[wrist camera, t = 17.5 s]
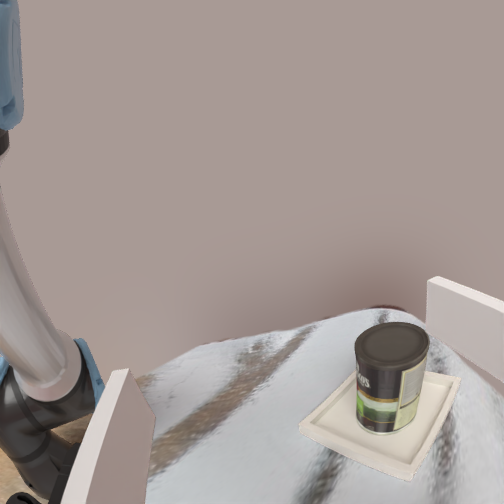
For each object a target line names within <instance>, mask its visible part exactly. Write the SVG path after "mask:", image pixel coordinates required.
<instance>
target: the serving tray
mask: <svg viewBox="0 0 504 504" xmlns="http://www.w3.org/2000/svg"><path fill="white" fill-rule="evenodd" d="M356 380H357V379H356V370H355V371H354V372H353V373H352V374H351V375H350V376H349V377H348V378H347V379H346V380H345V381H344V382H343V383H342V384H341V385H340V386H339V387H338V388H337V389H336V390H335V391H334V392H333V393H332V394H331V395H330V396H329V397H328V398H327V399H326V400H325V401H324V402H323V403H321V404H320V405H319V406H318V407H317V408H316V409H315V410H314V411H313V412H312V413H311V414H309V415H308V416H307V417H306V418H305V419H304V420H303V421H301V422H300V423H299V430H300V433H301V434H303V435H304V436H306V437H308V438H310V439H312V440H314V441H316V442H318V443H319V444H321V445H323V446H325V447H327V448H329V449H331V450H333V451H335V452H337V453H339V454H342V455H344V456H346V457H348V458H350V459H352V460H355V461H357V462H359V463H361V464H364V465H366V466H368V467H371V468H373V469H376V470H378V471H381V472H383V473H386V474H388V475H391V476H394V477H396V478H399V479H402V480H405V481H408V482H410V481H411V480H412V478H413V477H414V475H415V474H416V472H417V471H418V469H419V467H420V466H421V464H422V462H423V461H424V459H425V457H426V456H427V454H428V452H429V450H430V449H431V447H432V445H433V443H434V441H435V439H436V438H437V436H438V434H439V432H440V430H441V428H442V426H443V424H444V421H445V419H446V417H447V415H448V413H449V411H450V408H451V406H452V404H453V401H454V399H455V396H456V394H457V391H458V389H459V386H460V382H461V378H459V377H454V376H448V375H443V374H438V373H433V372H429V371H425V372H424V378H423V383H422V389H421V394H420V398H419V403H418V407H417V414H416V417H415V419H414V421H413V422H412V423H411V424H410V425H409V426H408V427H407V428H405V429H404V430H402V431H400V432H398V433H395V434H391V435H375V434H371V433H369V432H367V431H365V430H364V429H362V428H361V427H360V426H359V424H358V422H357V420H356V404H357V384H356V382H357V381H356Z"/></svg>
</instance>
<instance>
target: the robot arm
mask: <svg viewBox="0 0 504 504" xmlns="http://www.w3.org/2000/svg"><path fill="white" fill-rule="evenodd" d="M22 87H23V78H22V60H21V38H20V18H19V8H18V2H17V0H0V166H1V164H2V162H3V160H4V159H5V157H6V155H7V153H8V151H9V149H10V144H9V135H8V130H10V129H13V128H14V126H16V125H17V124H18V123H20V122H21V120H22V117H23V110H24V100H23V90H22ZM425 332H427V333H428V334H430V335H431V336H433V337H434V338H436V339H438V340H439V341H441V342H442V343H444V344H445V345H447V346H448V347H450V348H452V349H453V350H455V351H456V352H458V353H460V354H461V355H462V356H464V357H466V358H467V359H468V360H470V361H472V362H473V363H475V364H476V365H478V366H479V367H481V368H482V369H484V370H485V371H487V372H488V373H490V374H491V375H493V376H494V377H496V378H497V379H499V380H500V381H502V382H503V383H504V302H503V301H501V300H499V299H496V298H494V297H491V296H489V295H486V294H484V293H481V292H479V291H476V290H474V289H471V288H468V287H466V286H463V285H461V284H458V283H456V282H452V281H450V280H447V279H445V278H442V277H439V276H436V277H434V278H432V279H430V280H428V281H427V310H426V326H425ZM0 354H1V355H2V356H3V357H0V448H1V449H2V450H3V451H4V452H5V453H6V454H7V456H8V457H9V458H10V459H11V460H12V461H13V463H14V465H15V467H16V468H17V470H18V472H19V474H20V475H21V477H22V479H23V480H24V482H25V483H26V485H27V486H28V487H29V488H30V489H31V490H32V491H33V492H34V493H36V494H37V495H38V496H40V497H42V498H44V499H48V500H49V502H48V504H145V497H146V487H147V478H148V470H149V462H150V454H151V447H152V440H153V433H154V427H155V420H156V417H155V415H154V413H153V412H152V410H151V408H150V407H149V405H148V403H147V401H146V399H145V398H144V396H143V394H142V392H141V390H140V388H139V387H138V385H137V383H136V381H135V379H134V377H133V375H132V373H131V371H130V369H122V370H114V371H112V374H111V376H110V378H109V380H108V382H107V384H106V386H105V385H104V383H103V381H102V379H101V376H100V374H99V371H98V368H97V366H96V364H95V361H94V359H93V356H92V354H91V352H90V350H89V347H88V345H87V343H86V342H85V340H83V339H82V338H79V339H72V338H71V337H70V336H69V335H68V334H66V333H65V332H63V331H61V330H58V329H56V328H55V327H54V325H53V323H52V321H51V319H50V317H49V316H48V314H47V312H46V310H45V308H44V306H43V304H42V302H41V300H40V298H39V296H38V294H37V292H36V289H35V287H34V285H33V283H32V281H31V278H30V276H29V274H28V271H27V269H26V266H25V264H24V262H23V259H22V256H21V254H20V251H19V248H18V245H17V243H16V240H15V237H14V234H13V231H12V228H11V224H10V221H9V218H8V214H7V210H6V207H5V203H4V199H3V195H2V191H1V186H0ZM9 364H10V365H11V366H10V365H9ZM91 413H92V414H93V416H92V418H91V421H90V423H89V426H88V428H87V431H86V433H85V436H84V438H83V441H82V443H75V444H74V445H73V446H72V445H71V444H70V443H68V442H67V441H65V440H64V439H62V438H61V437H60V436H58V435H57V434H55V433H54V432H53V431H51V430H50V429H53V428H56V427H58V426H61V425H64V424H66V423H69V422H71V421H74V420H76V419H79V418H81V417H84V416H86V415H89V414H91ZM6 504H41V503H40V502H38V501H37V500H36V499H35V498H34V497H32V496H31V495H30V494H28V493H24V492H19V493H15V494H14V495H12V496H11V497H10V498H9V499H8V501H7V502H6Z"/></svg>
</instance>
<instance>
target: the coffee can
mask: <svg viewBox="0 0 504 504" xmlns="http://www.w3.org/2000/svg"><path fill="white" fill-rule="evenodd" d="M429 344H430V340H429V336H428V334H427V333H426V332H425V331H424V330H423V329H422V328H420V327H419V326H416V325H414V324H410V323H405V322H388V323H383V324H379V325H376V326H373V327H371V328H369V329H367V330H365V331H364V332H363V333H362V334H360V336H359V337H358V338H357V340H356V342H355V354H356V379H357V380H356V381H357V382H356V384H357V404H356V420H357V422H358V424H359V426H360V427H361V428H362V429H364V430H365V431H367V432H369V433H371V434H375V435H391V434H395V433H398V432H400V431H402V430H404V429H405V428H407V427H408V426H409V425H410V424H411V423H412V422H413V421H414V419H415V417H416V414H417V407H418V403H419V398H420V394H421V389H422V383H423V378H424V372H425V366H426V359H427V352H428V349H429Z"/></svg>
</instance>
